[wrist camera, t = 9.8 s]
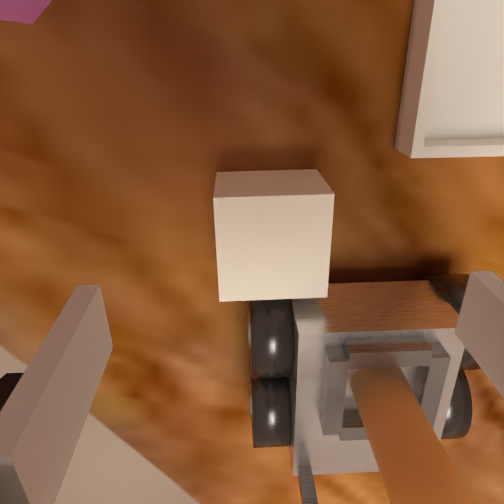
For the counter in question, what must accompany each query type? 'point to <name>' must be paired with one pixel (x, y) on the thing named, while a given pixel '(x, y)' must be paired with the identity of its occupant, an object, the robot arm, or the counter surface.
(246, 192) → the off-white matte cube
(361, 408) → the pin
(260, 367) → the trolley
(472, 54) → the tray
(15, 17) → the bracket
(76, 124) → the counter surface
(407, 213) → the counter surface
